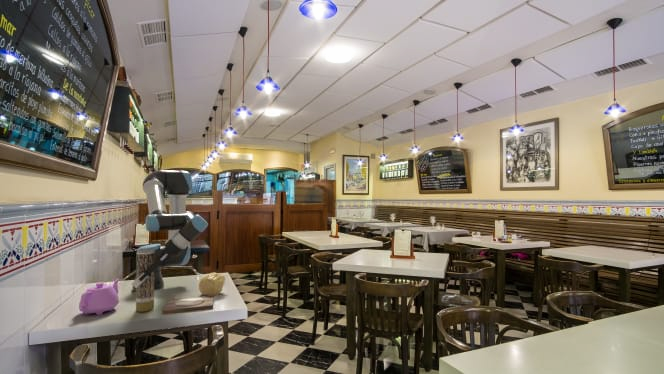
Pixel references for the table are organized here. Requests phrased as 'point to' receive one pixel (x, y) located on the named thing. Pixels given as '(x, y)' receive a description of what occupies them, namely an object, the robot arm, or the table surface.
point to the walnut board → (188, 304)
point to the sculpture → (211, 284)
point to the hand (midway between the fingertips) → (136, 283)
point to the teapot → (99, 298)
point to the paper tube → (145, 282)
